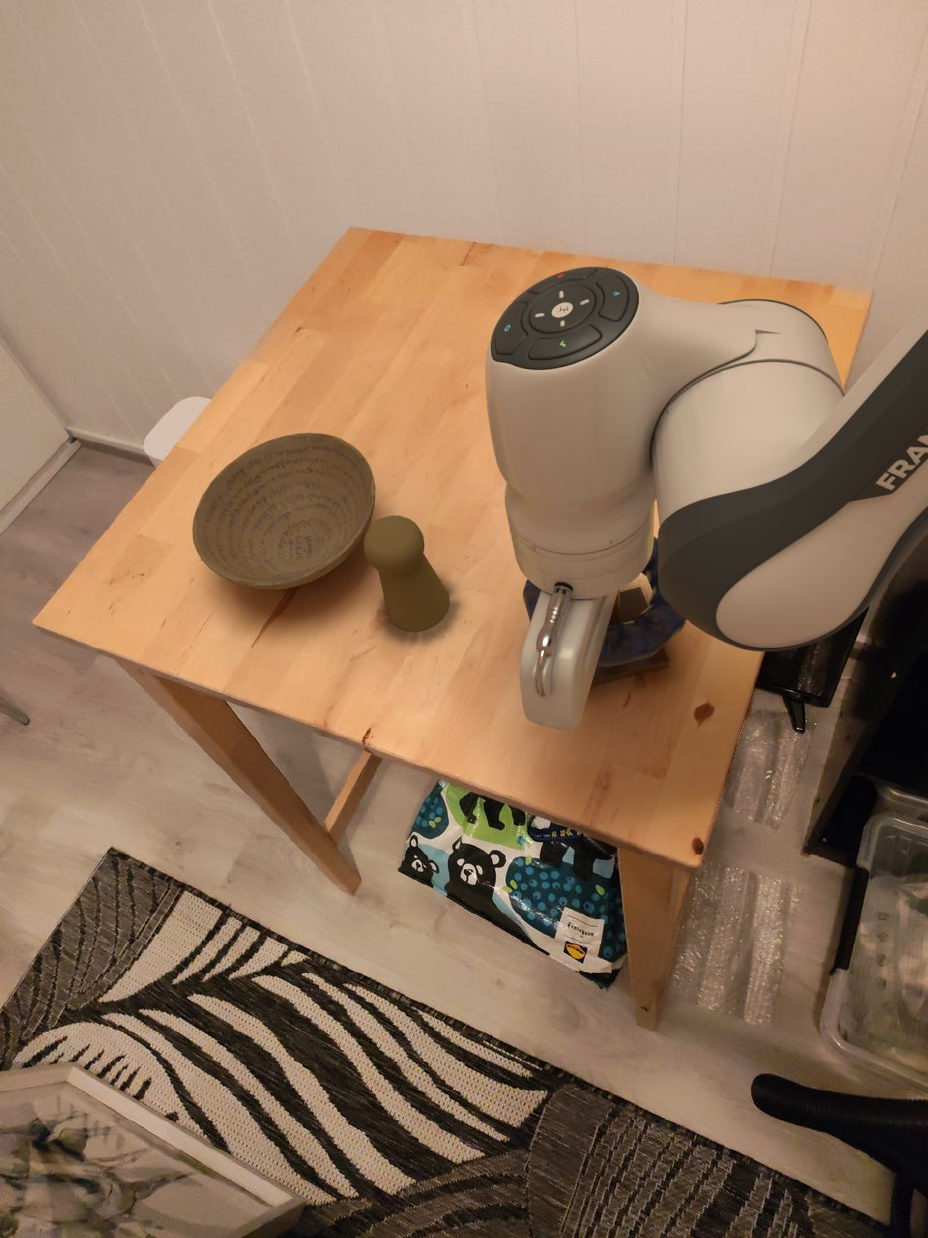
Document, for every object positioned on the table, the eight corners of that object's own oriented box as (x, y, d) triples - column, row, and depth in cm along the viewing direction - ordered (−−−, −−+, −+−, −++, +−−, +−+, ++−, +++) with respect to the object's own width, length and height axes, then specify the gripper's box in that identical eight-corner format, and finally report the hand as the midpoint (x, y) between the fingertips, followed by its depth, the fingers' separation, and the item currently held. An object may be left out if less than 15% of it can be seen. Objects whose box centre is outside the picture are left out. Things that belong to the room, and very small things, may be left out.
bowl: (191, 607, 81) (152, 560, 75) (273, 473, 90) (244, 420, 83) (352, 645, 75) (325, 597, 69) (423, 498, 84) (405, 443, 77)
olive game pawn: (458, 584, 77) (434, 509, 68) (436, 637, 74) (408, 566, 65) (400, 574, 79) (370, 499, 70) (377, 625, 76) (342, 554, 67)
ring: (659, 525, 69) (660, 501, 67) (713, 648, 62) (717, 627, 59) (511, 562, 69) (507, 539, 67) (548, 689, 62) (545, 669, 59)
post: (640, 592, 73) (640, 513, 64) (669, 666, 68) (674, 593, 59) (554, 615, 73) (542, 539, 64) (577, 690, 69) (568, 620, 59)
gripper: (589, 680, 44) (599, 776, 56) (665, 418, 54) (660, 545, 65) (482, 657, 46) (512, 754, 58) (573, 409, 56) (584, 534, 67)
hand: (591, 641), depth 62 cm, fingers closed on ring, 3 cm apart
